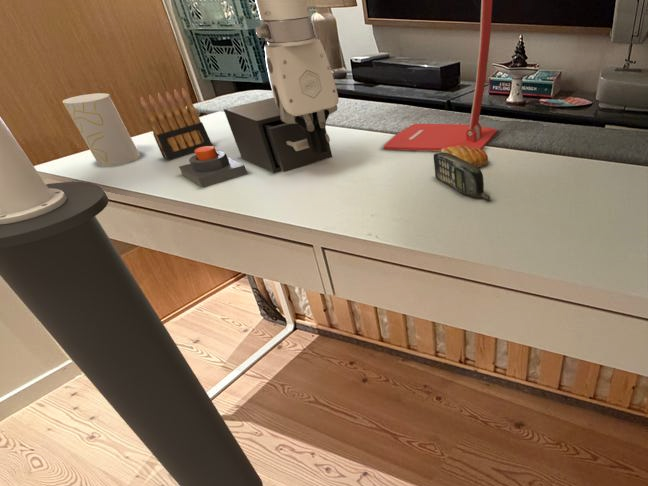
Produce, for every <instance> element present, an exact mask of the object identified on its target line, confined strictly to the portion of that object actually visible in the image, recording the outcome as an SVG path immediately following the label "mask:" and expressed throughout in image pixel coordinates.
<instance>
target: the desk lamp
mask: <svg viewBox="0 0 648 486" xmlns="http://www.w3.org/2000/svg"><path fill="white" fill-rule="evenodd" d="M480 2H481V3H480V23H479V24H480V26H479V42H478V43H479V44H478V54H477V64H476V76H475V84H474V85H475V86H474V93H473V100H472V106H471V113H470V121H469V124H464V123H463V124H461V123H460V124H459V123H414V124H412V125H410V126H407V127H406V128H404V129H402V130H401V131H399V132H398V133H396V134H395V135H394V136H393V137H391V138H390V139H389V140H388V141H387V142H386V143H385V144H383V149H384V150H387V151H388V150H389V151H440V152H441V149H443V148H448V147H456V146H458V145H460V146H463V147H464V146H467V147H472V148H474V149H476V148H479V149H482V150H484V148H485V147H486V146H487V144H489V142H491V140H492V139H493V138H494V137H495V136H496V134H498V129H497V128H493V127H486V126H482V125H481V123H480V122H479V121H480V115H481V109H482V104H483V98H484V93H485V86H486V79H487V70H488V63H489V62H488V61H489V54H490V53H489V52H490V43H491V30H492V13H493V0H481V1H480Z"/></svg>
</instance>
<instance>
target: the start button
mask: <svg viewBox="0 0 648 486" xmlns="http://www.w3.org/2000/svg"><path fill="white" fill-rule="evenodd" d="M194 151H195V152H194V155H196V156H197V158H198V160H209V159H213V158H216V157H218V155H217V153H216V151H217V150H216V148H215V146H214V145H212V146H204V147H199V148H197V149H195V150H194Z"/></svg>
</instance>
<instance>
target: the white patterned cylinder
mask: <svg viewBox="0 0 648 486" xmlns="http://www.w3.org/2000/svg"><path fill="white" fill-rule="evenodd" d="M61 102H62V104H63V105H64V107H65V109H66V111H67V113H68V114H69V116H70V118H71V119H72V121H73V123H74V125H75V126H76V128H77V130H78V133H80V135H81V136H82V138H83V139H82V140H84V142H85V143H86V145H87V147H88V149H89V150H90V152H91V154H92V156H93V157H94V159H95V161H96V163H97V164H98V166H101V167H114V166H120V165H124V164H128V163H131V162H134V161H136V160H138V159H139V158H140V157H141V154H140V152H139V150H138V149H137V146H136V144H135V143H134V140H133V138H132V136H131V134H130V133H129V131H128V129H127V127H126V125H125V123H124V121H123V119H122V117H121V115H120V113H119V112H118V109H117V108H116V105H115V103H114V102H113V99H112V97H111V95H110V94H109V93H105V92H103V93H101V92H100V93H99V92H98V93H89V94H80V95H76V96H72V97H68V98H66V99H63V100H62V101H61Z"/></svg>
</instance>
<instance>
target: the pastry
mask: <svg viewBox="0 0 648 486" xmlns="http://www.w3.org/2000/svg"><path fill="white" fill-rule="evenodd" d="M442 152H443V153H449V154H451V155H454V156H457V157H458V158H460V159H462V160H465V161H467V162H469V163H471V164H472V165H474V166H476V167H477V168H479V169H480V168H482V167H483V166H484V165H486V164H488V162H489V156H488V154H487V152H486V150H484V149H479V148H476V149H474V148H472V147H467V146H464V147H463V146H460V145H458V146H456V147H448V148H443V149H441V151H440V153H442Z"/></svg>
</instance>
